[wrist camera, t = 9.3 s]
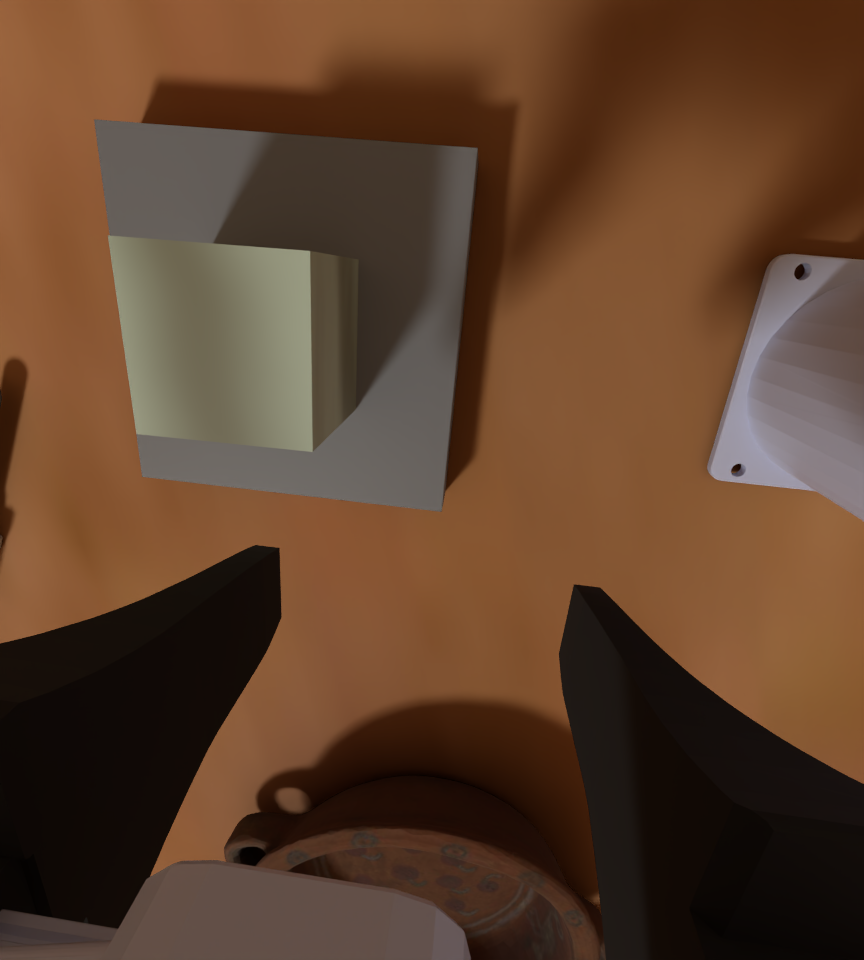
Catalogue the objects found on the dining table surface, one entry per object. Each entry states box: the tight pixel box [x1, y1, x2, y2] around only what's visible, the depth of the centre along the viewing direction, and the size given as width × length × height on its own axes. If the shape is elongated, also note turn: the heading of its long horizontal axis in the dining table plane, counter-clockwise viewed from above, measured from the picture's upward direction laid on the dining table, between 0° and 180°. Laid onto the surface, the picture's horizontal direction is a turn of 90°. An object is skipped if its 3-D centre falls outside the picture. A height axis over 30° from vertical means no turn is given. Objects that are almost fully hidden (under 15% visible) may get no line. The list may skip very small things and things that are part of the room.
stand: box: [94, 120, 478, 512], centre depth 19 cm, size 12×12×2 cm
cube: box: [108, 236, 359, 452], centre depth 15 cm, size 5×5×5 cm
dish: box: [224, 776, 606, 960], centre depth 28 cm, size 18×22×5 cm
